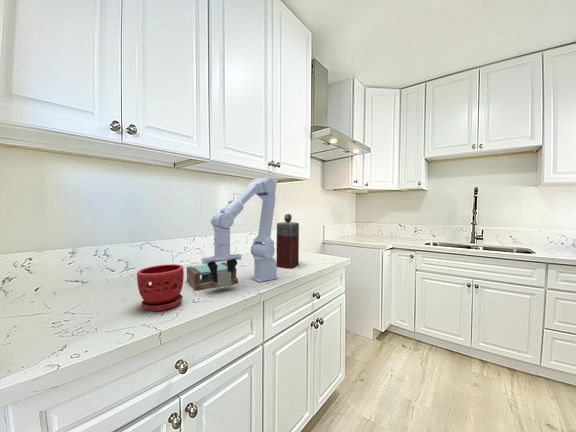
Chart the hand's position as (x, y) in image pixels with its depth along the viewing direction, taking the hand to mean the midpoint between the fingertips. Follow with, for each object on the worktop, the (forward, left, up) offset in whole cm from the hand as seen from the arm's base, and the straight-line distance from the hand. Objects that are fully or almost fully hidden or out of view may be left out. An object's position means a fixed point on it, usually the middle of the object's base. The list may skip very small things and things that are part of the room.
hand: (222, 280), depth 93 cm
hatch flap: (0, -13, -1) cm, 13 cm away
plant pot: (+21, +3, -4) cm, 22 cm away
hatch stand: (0, -13, -4) cm, 14 cm away
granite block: (0, 0, -2) cm, 2 cm away
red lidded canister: (-42, -19, -4) cm, 46 cm away
